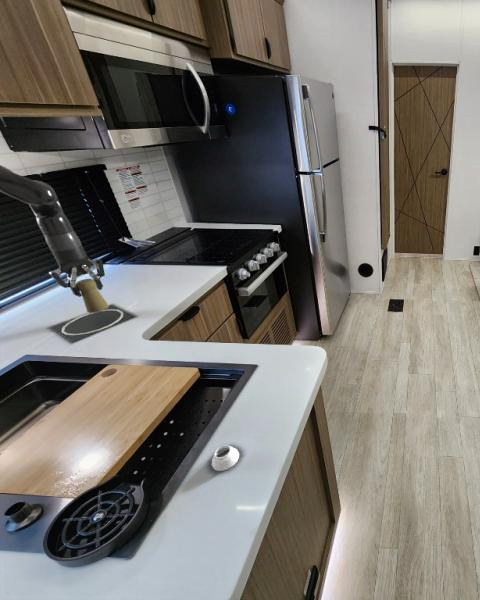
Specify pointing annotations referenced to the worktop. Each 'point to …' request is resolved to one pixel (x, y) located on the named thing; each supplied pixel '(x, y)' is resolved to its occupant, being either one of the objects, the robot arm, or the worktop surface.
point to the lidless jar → (225, 458)
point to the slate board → (91, 323)
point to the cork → (91, 296)
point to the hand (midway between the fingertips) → (89, 292)
